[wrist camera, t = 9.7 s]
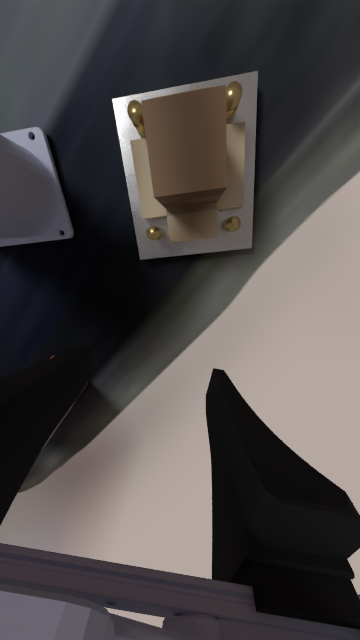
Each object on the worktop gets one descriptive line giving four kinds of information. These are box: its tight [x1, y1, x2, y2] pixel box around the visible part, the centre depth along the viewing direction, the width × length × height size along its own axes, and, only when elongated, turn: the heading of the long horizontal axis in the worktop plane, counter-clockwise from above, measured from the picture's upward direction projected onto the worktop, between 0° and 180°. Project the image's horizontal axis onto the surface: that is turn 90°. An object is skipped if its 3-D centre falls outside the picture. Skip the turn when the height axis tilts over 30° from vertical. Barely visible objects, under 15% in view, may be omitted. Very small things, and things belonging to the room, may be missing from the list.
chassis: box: [112, 71, 258, 260], centre depth 15 cm, size 10×11×4 cm
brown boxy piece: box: [130, 85, 245, 242], centre depth 13 cm, size 8×9×6 cm
